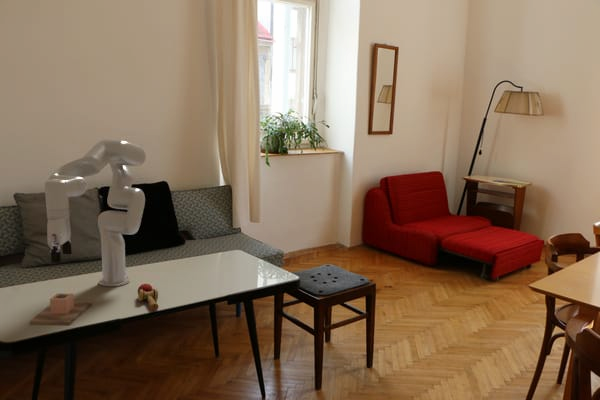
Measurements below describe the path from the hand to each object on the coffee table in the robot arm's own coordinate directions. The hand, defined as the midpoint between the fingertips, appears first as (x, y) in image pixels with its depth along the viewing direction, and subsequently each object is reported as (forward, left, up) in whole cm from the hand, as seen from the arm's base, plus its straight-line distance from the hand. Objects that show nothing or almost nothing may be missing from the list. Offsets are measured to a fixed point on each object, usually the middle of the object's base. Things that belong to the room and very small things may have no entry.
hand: (61, 257), depth 196 cm
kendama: (-8, +30, -20) cm, 37 cm away
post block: (+5, +1, -20) cm, 20 cm away
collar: (+4, +1, -19) cm, 19 cm away
